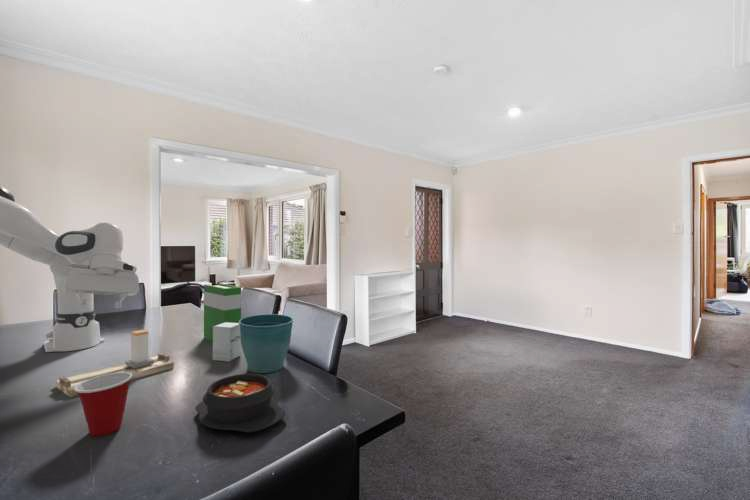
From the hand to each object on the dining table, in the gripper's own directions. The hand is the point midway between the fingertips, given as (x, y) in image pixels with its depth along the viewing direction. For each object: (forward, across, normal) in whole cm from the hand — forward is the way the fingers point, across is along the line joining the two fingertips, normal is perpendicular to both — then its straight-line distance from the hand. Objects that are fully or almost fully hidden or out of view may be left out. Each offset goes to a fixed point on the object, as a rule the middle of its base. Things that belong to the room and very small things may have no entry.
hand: (100, 306), depth 116 cm
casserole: (+42, +22, -46) cm, 66 cm away
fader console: (+23, +7, +1) cm, 24 cm away
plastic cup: (+39, -2, -30) cm, 49 cm away
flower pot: (+28, +44, -24) cm, 57 cm away
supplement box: (+20, +39, -6) cm, 44 cm away
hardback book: (+9, +47, +14) cm, 50 cm away
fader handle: (+19, +12, +1) cm, 23 cm away
